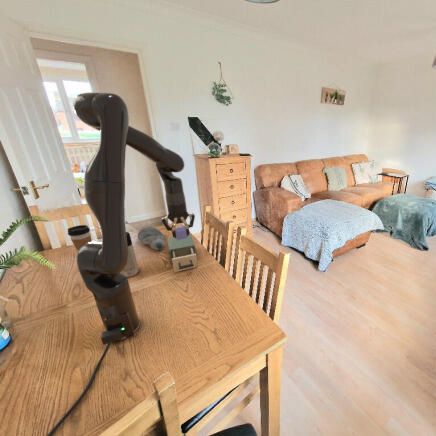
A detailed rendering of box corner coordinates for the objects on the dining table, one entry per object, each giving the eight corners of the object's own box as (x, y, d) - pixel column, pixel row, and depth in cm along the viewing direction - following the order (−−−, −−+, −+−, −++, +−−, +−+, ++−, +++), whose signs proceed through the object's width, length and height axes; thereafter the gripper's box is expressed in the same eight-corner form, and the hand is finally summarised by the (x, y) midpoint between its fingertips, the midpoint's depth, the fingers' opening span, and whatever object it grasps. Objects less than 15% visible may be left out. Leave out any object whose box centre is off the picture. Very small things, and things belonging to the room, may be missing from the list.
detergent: (135, 239, 140) (145, 256, 123) (134, 227, 138) (144, 243, 120) (160, 234, 148) (172, 250, 131) (159, 224, 146) (171, 238, 129)
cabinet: (196, 259, 123) (194, 245, 120) (171, 265, 118) (169, 249, 114) (192, 247, 134) (190, 234, 130) (169, 252, 128) (167, 238, 125)
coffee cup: (71, 255, 121) (61, 229, 115) (89, 248, 129) (80, 222, 123) (83, 259, 119) (74, 232, 113) (100, 251, 127) (92, 225, 121)
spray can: (142, 269, 113) (133, 231, 105) (132, 278, 107) (121, 238, 99) (129, 268, 114) (119, 230, 106) (118, 276, 107) (106, 237, 100)
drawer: (199, 272, 112) (197, 259, 109) (175, 278, 107) (172, 265, 104) (193, 254, 126) (192, 243, 123) (172, 259, 121) (170, 247, 118)
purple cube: (187, 238, 109) (186, 230, 107) (176, 240, 107) (175, 232, 105) (186, 234, 113) (184, 226, 111) (175, 235, 111) (174, 228, 109)
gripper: (157, 206, 97) (164, 243, 103) (194, 202, 103) (199, 237, 110) (157, 200, 103) (163, 236, 109) (192, 197, 109) (196, 230, 116)
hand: (181, 236), depth 110 cm, fingers closed on purple cube, 4 cm apart
